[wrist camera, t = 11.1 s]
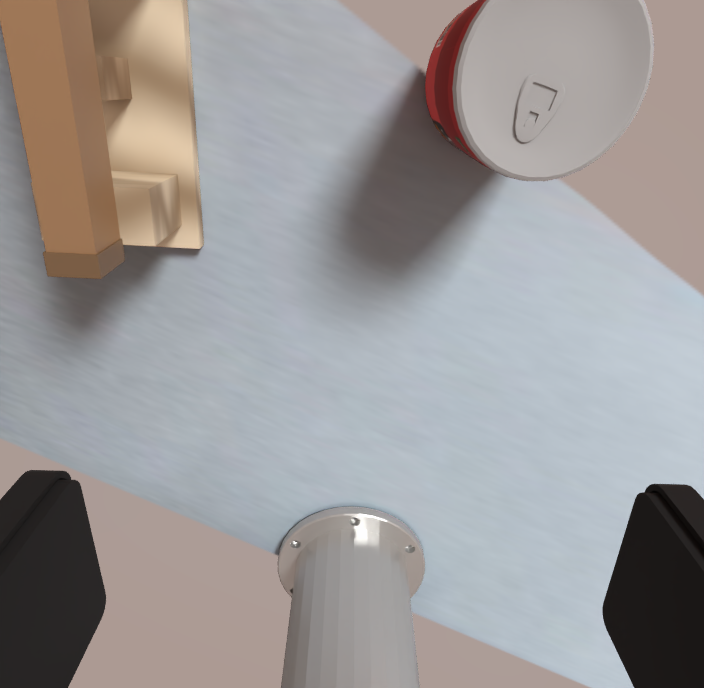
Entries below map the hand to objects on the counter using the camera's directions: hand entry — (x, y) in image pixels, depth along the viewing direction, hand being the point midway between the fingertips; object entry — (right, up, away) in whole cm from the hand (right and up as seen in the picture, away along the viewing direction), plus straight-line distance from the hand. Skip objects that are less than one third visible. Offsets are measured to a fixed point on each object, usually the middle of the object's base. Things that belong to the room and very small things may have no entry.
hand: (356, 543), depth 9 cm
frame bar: (-13, +16, +16) cm, 26 cm away
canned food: (+8, +19, +22) cm, 30 cm away
